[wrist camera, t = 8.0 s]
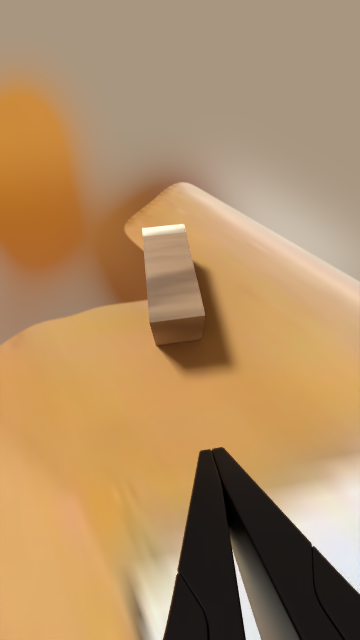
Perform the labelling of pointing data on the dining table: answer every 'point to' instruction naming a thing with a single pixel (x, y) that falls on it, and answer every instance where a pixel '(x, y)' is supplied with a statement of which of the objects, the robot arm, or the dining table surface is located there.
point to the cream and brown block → (172, 286)
